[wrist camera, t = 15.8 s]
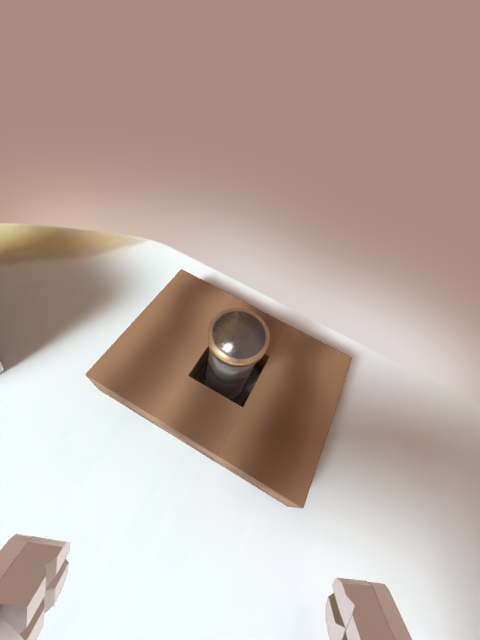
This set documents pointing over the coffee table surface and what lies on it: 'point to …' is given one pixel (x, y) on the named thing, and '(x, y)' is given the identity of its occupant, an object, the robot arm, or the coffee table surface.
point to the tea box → (1, 367)
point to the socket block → (216, 410)
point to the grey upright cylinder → (234, 349)
